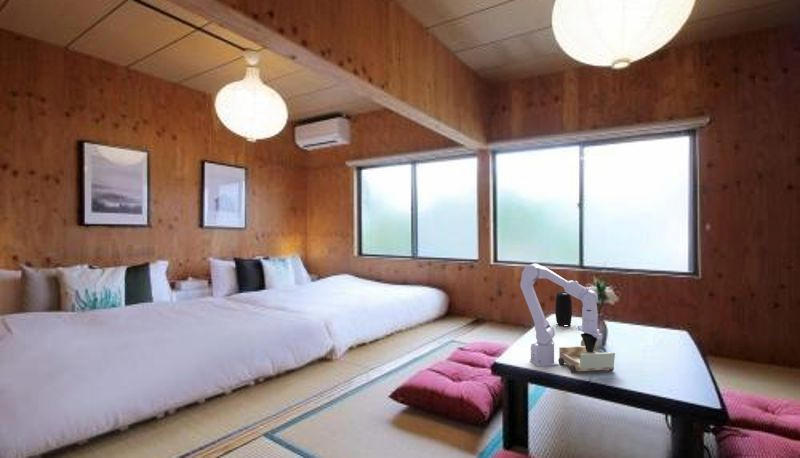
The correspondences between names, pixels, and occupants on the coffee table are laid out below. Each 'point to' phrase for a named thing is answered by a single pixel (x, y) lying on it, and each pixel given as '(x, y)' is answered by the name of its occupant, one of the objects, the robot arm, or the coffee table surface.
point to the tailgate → (597, 360)
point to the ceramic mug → (596, 346)
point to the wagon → (575, 358)
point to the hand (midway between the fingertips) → (589, 351)
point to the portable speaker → (563, 308)
